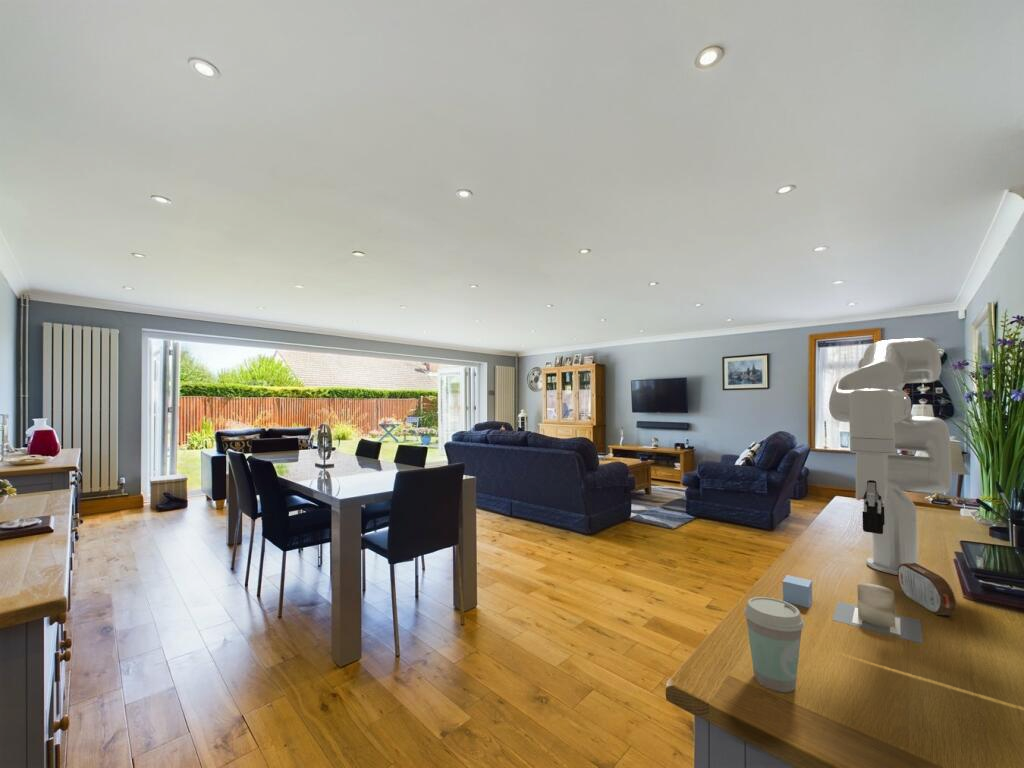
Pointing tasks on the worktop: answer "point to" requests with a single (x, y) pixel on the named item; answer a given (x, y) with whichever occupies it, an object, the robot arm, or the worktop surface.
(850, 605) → the letter card
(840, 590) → the worktop surface
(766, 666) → the coffee cup
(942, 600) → the tin
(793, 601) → the blue cube
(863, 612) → the beige streaked cube
